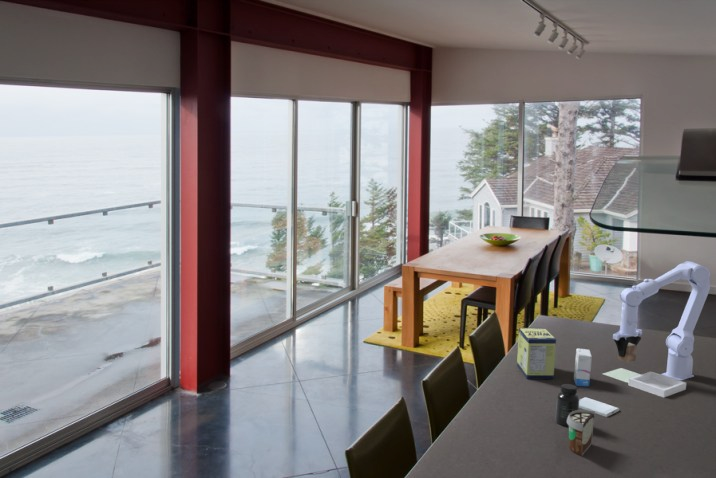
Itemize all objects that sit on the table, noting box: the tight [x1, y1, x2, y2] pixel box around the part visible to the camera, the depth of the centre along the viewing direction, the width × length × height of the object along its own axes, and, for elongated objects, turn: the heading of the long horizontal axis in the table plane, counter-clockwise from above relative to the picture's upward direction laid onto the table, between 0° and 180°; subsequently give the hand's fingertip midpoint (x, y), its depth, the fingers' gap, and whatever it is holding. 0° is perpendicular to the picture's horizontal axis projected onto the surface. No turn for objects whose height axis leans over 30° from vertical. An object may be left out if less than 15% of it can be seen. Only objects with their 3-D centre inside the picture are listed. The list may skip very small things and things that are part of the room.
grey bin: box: [627, 371, 687, 398], centre depth 257 cm, size 14×14×3 cm
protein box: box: [516, 327, 557, 380], centre depth 271 cm, size 10×16×16 cm
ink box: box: [573, 347, 593, 388], centre depth 261 cm, size 9×5×12 cm, turn 168°
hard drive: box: [579, 396, 620, 418], centre depth 238 cm, size 2×8×12 cm
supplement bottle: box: [555, 383, 580, 427], centre depth 225 cm, size 7×7×12 cm
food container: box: [567, 409, 596, 456], centre depth 208 cm, size 12×6×10 cm, turn 145°
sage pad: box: [602, 367, 642, 384], centre depth 269 cm, size 12×11×1 cm
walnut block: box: [617, 343, 638, 363], centre depth 267 cm, size 4×4×6 cm
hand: (625, 355), depth 267 cm, fingers closed on walnut block, 4 cm apart
